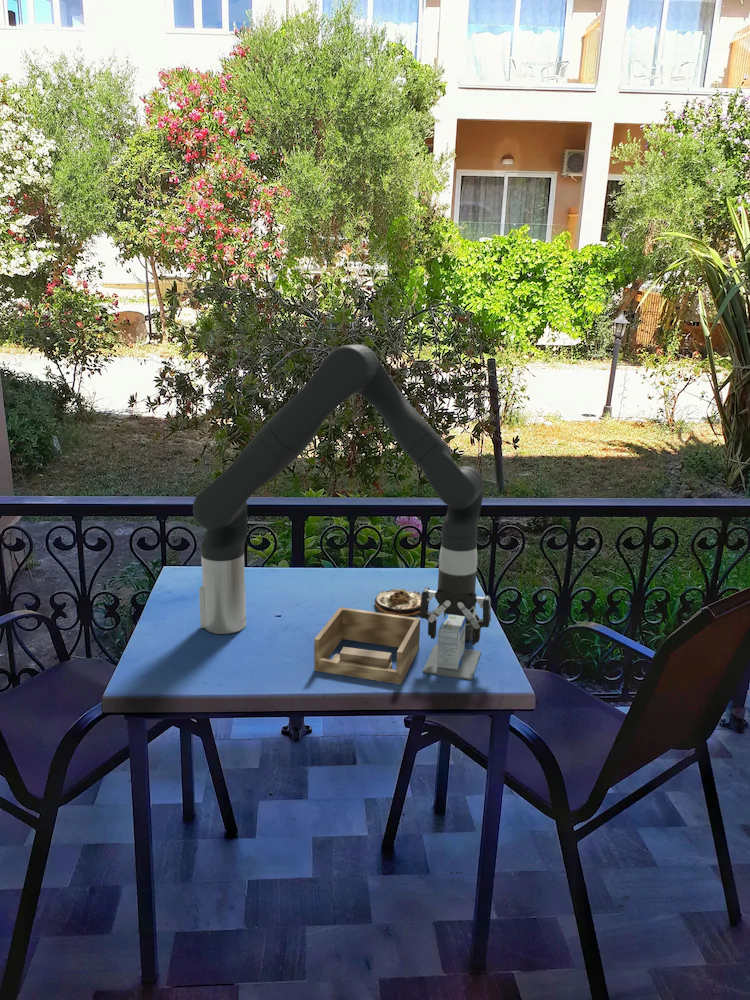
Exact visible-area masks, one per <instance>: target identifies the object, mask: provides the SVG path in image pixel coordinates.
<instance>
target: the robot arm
mask: <svg viewBox="0 0 750 1000" xmlns="http://www.w3.org/2000/svg"><path fill="white" fill-rule="evenodd" d="M355 393H357V394H359V396H361V397H363V399H364V400H366V402H368V403H369V404H370V405H371V406H372V407H373V408H374V409H375V410H376V411H377V413H378V414H379V415H380V416H381V418H382V419H383V421H384V422H385V424H386V426H387V429H388V430H389V431H390V433H391V435H392V436H393V438H394V440H395V441H396V443H397V444H398V445H399V446H400V448H401V449H402V450H403V451H404V453H406V455H407V456H408V457H409V458H410V459H411V460H412V461H413V463H415V465H416V466H417V467H418V468H420V470H422V472H423V474H424V476H425V478H426V480H427V481H428V483H429V484H430V487H431V488H432V489H433V492H434V493H435V494H436V495H437V497H438V498H439V499H440V500H441V502H443V503H444V504H445V505H446V506H447V512H446V514H445V516H444V519H443V521H442V525H441V537H440V538H441V539H440V540H441V541H440V543H441V544H440V549H439V550H440V551H439V556H438V576H437V578H438V579H437V590H432V589H430V587H425V588H424V589H423V590H422V593H421V594H422V596H421V606H420V614H419V618H420V619H425V620H427V635H428V637H429V636H430V639H431V640H432V639H433V640H435V638H436V636H437V621H438V619H437V618H439V617H440V616H441V615H442V614H444V612H446V613H447V614H455V615H458V616H462V615H465V616H466V618H467V619H468V620H469V621H470V622H471V623H472V625H473V626H474V627H473V631H472V639H471V645H473V646H476V644H478V643H479V642H480V639H481V629H482V628H488V627H489V626H490V623H491V619H492V618H491V614H492V610H491V609H492V608H491V607H492V606H491V605H492V604H491V602H492V600H491V596H490V595H485V596H477V593H476V587H477V586H476V585H477V568H478V549H477V548H478V546H477V545H478V525H479V524H478V523H479V518H480V514H481V508H482V502H483V496H484V480H483V477H482V475H481V473H480V472H479V471H478V470H477V469H476V468H475V467H472V466H467V465H463V466H460V467H459V466H458V465H457V464H456V462H455V461H454V460H453V458H452V456H451V452H452V451H451V448H450V447H449V445H448V444H447V443H446V441H444V440H443V438H442V437H441V436H440V434H438V433H437V432H436V431H435V429H434V428H433V427H432V426H431V425H430V424H429V423H428V422H427V421H426V420H425V419H424V417H422V415H421V414H420V413H419V412H418V411H417V410H416V409H415V408H414V406H412V404H411V403H410V401H409V400H407V398H406V396H404V395H403V394H404V393H402V392H401V390H400V389H399V388H398V386H397V385H396V383H395V381H394V380H393V379H392V378H391V376H390V374H389V373H388V372H387V370H386V368H385V367H384V365H383V364H382V362H381V361H380V360H379V358H378V357H377V354H375V352H374V351H373V350H372V349H371V348H369V347H368V346H366V345H363V344H358V343H357V344H355V343H354V344H345V345H344V344H343V345H341V346H338V347H337V348H335V349H333V351H331V352H330V353H329V354H328V355H327V356H326V358H325V359H324V360H323V362H322V363H321V364H320V366H319V367H318V368H317V370H316V371H315V373H314V374H313V375H312V376H311V378H310V379H309V380H308V382H307V383H306V384H305V385H304V387H302V388H301V389H300V391H298V392H297V394H296V395H294V396H293V397H292V398H291V399H289V401H288V402H287V403H285V404H284V406H282V407H281V408H280V409H279V410H278V411H277V412H276V413H275V414H274V415H273V416H272V417H271V418H270V419H269V420H268V421H267V422H266V423H265V424H264V425H263V426H262V428H260V430H258V432H257V433H256V434H255V435H254V437H253V438H252V439H251V440H250V441H249V442H248V444H246V446H245V447H244V448H243V449H242V451H241V452H240V453H239V454H238V455H237V457H236V458H235V460H234V461H233V462H232V463H231V465H230V466H229V467H228V468H227V469H226V470H224V472H222V473H221V474H220V475H219V476H218V477H217V478H216V479H214V480H213V481H212V482H211V483H210V484H208V485H207V486H206V487H205V488H202V489H201V490H200V491H199V492H198V494H197V495H196V496H195V498H194V500H193V505H192V514H193V517H194V520H195V522H196V523H197V524H198V525H199V526H200V527H202V528H204V529H206V532H205V535H204V537H203V538H202V541H201V543H200V554H201V557H200V558H201V560H200V561H201V579H202V586H200V587H199V589H198V594H199V596H198V599H199V617H200V629H204V628H205V630H206V631H207V632H209V633H212V634H216V635H217V634H218V635H228V634H234V633H237V632H240V631H242V630H243V629H245V627H246V626H247V613H246V612H247V611H246V610H247V609H246V608H247V607H246V605H247V603H246V577H245V573H246V571H245V544H246V541H247V535H248V502H247V501H248V500H249V498H250V497H251V496H252V495H253V494H254V493H256V491H258V490H259V489H260V488H262V487H263V486H264V485H266V484H267V483H269V482H270V481H271V480H273V479H274V478H276V477H277V476H278V475H279V474H280V473H282V472H283V471H284V470H285V469H287V468H288V467H289V466H290V465H291V464H293V462H294V461H295V460H296V459H297V458H298V457H299V456H300V455H301V454H302V453H303V452H304V451H305V450H306V448H307V447H308V446H309V445H310V443H312V441H313V440H314V438H315V437H316V436H317V433H318V432H319V431H320V428H321V426H322V424H323V422H324V421H325V420H326V419H327V417H328V416H329V415H331V413H332V412H333V411H335V409H337V407H339V406H340V405H341V404H343V403H344V402H345V401H346V400H347V399H348V398H350V397H351V396H352V395H355ZM433 598H435V600H436V602H437V603H438V605H437V606H436V607H435V608H434V610H432V612H431V611H429V604H430V602H431V601H432V599H433ZM475 604H476V605H477V604H478V605H479V608H480V609H482V618H481V617H480V616H479V615H478V613H477V610H476V609H474V607H473V606H474V605H475Z"/></svg>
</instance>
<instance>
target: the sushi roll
mask: <svg viewBox="0 0 750 1000" xmlns="http://www.w3.org/2000/svg"><path fill="white" fill-rule="evenodd" d="M409 590H410V591H409ZM409 590H407V589H404V588H403V589H401V588H399V589H398V588H391V589H390V590H386V591H385V590H382V591H380V592H379V593H377V595H376V596H375V598H374V602H375V604H374V607H376V608H377V609H378V611H380V613H385V614H392V615H399V616H406V617H413V616H418V615H420V606H421V596H422V593H420V591H417V590H414V591H412V590H411V589H409Z"/></svg>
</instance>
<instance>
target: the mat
mask: <svg viewBox="0 0 750 1000" xmlns="http://www.w3.org/2000/svg"><path fill="white" fill-rule="evenodd" d="M437 649H438V644H434V645H433V647H432V649H431V653H430V654H429V656H428V658H427V660H426V663H425V665H424V667H423V669H422V673H423V674H428V675H430V674H431V675H435V674H436V676H441V675H442V676H444V677H448V678H455V679H460V678H461V679H462V680H468V681H472V680H473V678H474V675H475V671H476V669H477V666H478V662H479V660H480V656H481V654H482V651H481V650H475V649H474V650H473V649H467V648H464V654H463V657H462V660H461V662H460V665H459V668H458V670H453V669H446V668H439V667H437ZM461 679H460V680H461Z"/></svg>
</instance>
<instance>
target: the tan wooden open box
mask: <svg viewBox="0 0 750 1000" xmlns="http://www.w3.org/2000/svg"><path fill="white" fill-rule="evenodd" d="M420 633H421V618H420V617H419V618H418V617H413V616H411V617H406V616H399V615H392V614H385V613H383V612H378V611H369V610H361V609H356V608H355V609H354V608H348V607H342V606H341V607H340V606H339V607H338V608H337V610H336V611H335V612H334V614H333V615H332V616H331V618H330V619H329V620H328V621H327V622H326V623H325V625H324V626H323V628H322V629H321V630H320V631H319V633H318V634H317V635H316V637H315V638H314V639H313V641H314V643H313V644H314V645H313V647H314V656H313V657H314V660H313V661H314V662H313V663H314V667H313V668H314V669H313V670H314V671H315V672H321V673H328V674H333V675H339V676H346V677H352V678H357V679H358V678H359V679H364V680H370V681H375V680H376V681H377V682H382V681H384V683H388V682H390V683H389V684H394V683H397V684H396V685H400V684H401V685H402V683H403V682H404V680H405V678H406V675H407V673H408V671H409V670H410V667H411V666H412V663H413V662H414V659H415V657H416V656H417V654H418V651H419V649H420V639H421V638H420V636H421V634H420ZM343 640H346V641H347V640H348V641H354V642H360V643H366V644H373V645H378V646H379V645H381V646H386V647H393V648H398V649H397V651H396V669H394V668H392V669H388V668H381V667H375V666H369V665H363V664H356V663H350V662H344V661H337V660H332V658H330V657H331V656H332V654H333V653H334V651H335V650H336V648H337V647H338V646H339V644H340V643H341V642H342V641H343ZM376 681H375V682H376Z"/></svg>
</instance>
